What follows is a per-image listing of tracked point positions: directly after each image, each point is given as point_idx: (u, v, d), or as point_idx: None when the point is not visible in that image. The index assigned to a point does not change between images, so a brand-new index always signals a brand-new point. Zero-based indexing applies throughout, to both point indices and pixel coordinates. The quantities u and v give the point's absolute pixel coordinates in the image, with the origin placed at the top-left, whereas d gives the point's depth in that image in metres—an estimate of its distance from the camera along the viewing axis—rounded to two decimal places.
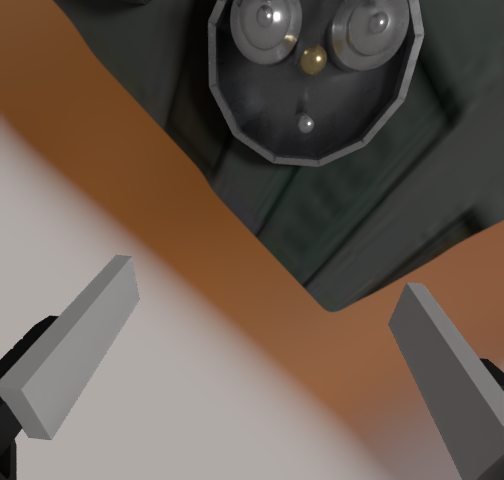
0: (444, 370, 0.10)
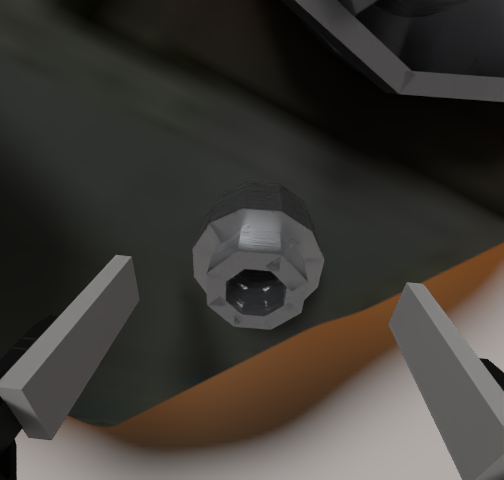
0: (444, 370, 0.10)
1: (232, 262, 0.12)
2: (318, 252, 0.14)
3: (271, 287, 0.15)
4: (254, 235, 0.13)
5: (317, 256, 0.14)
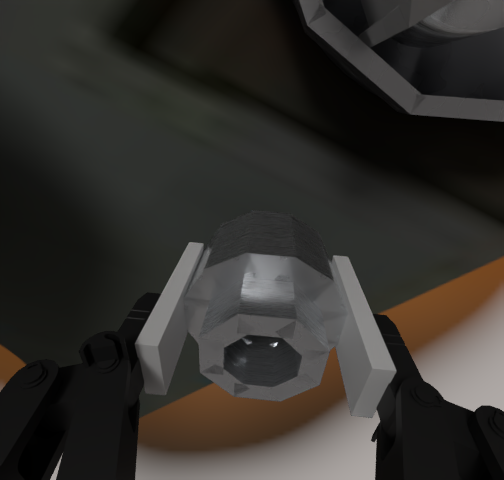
0: (346, 323, 0.11)
1: (232, 326, 0.09)
2: (340, 305, 0.11)
3: (280, 343, 0.12)
4: (260, 287, 0.10)
5: (339, 310, 0.11)
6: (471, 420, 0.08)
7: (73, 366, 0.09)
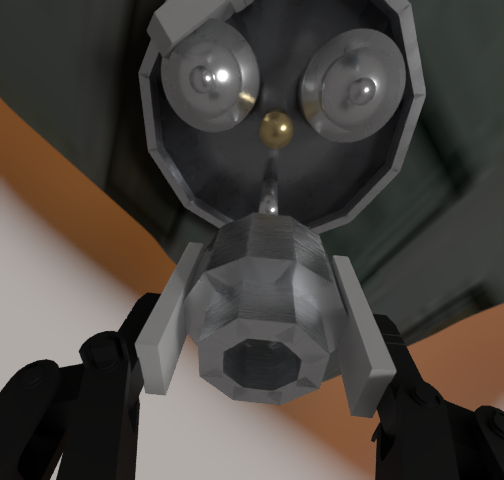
0: (346, 323, 0.11)
1: (232, 330, 0.09)
2: (340, 308, 0.11)
3: (280, 346, 0.12)
4: (260, 290, 0.10)
5: (339, 313, 0.11)
6: (471, 420, 0.08)
7: (73, 365, 0.09)
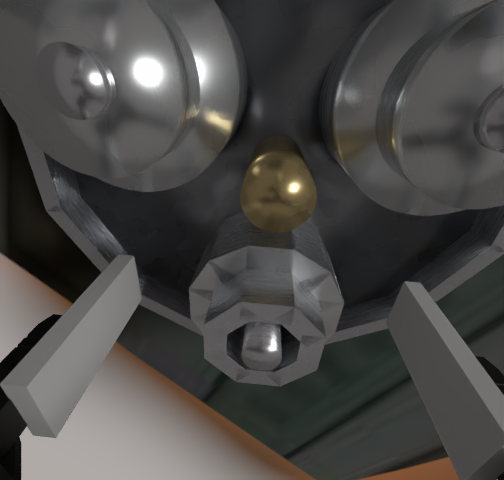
0: (440, 368, 0.10)
1: (235, 313, 0.10)
2: (337, 295, 0.12)
3: None
4: (261, 277, 0.11)
5: (336, 300, 0.12)
6: None
7: None
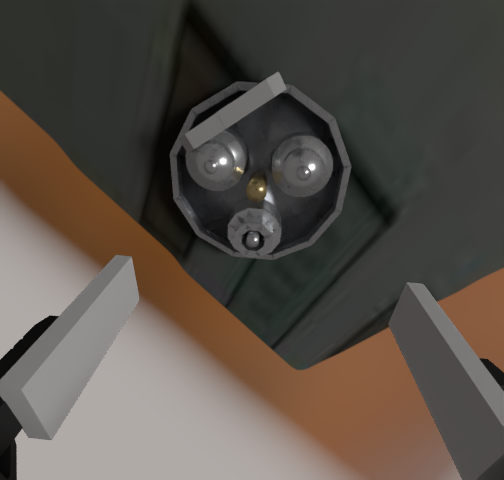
0: (444, 370, 0.10)
1: (244, 227, 0.32)
2: (278, 226, 0.34)
3: (260, 242, 0.35)
4: (252, 218, 0.33)
5: (278, 227, 0.34)
6: None
7: None
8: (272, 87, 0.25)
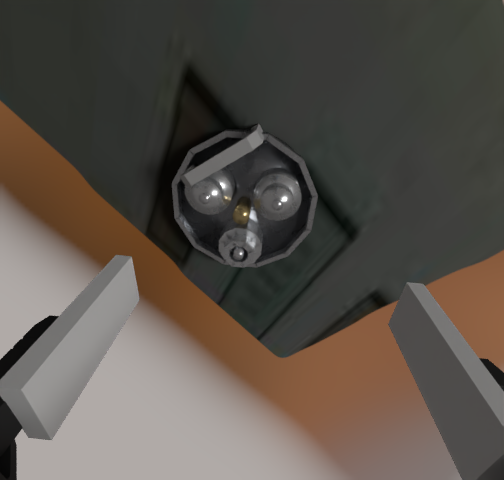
0: (444, 370, 0.10)
1: (231, 244, 0.41)
2: (259, 242, 0.42)
3: (245, 254, 0.43)
4: (238, 236, 0.42)
5: (259, 243, 0.42)
6: None
7: None
8: (251, 143, 0.33)
